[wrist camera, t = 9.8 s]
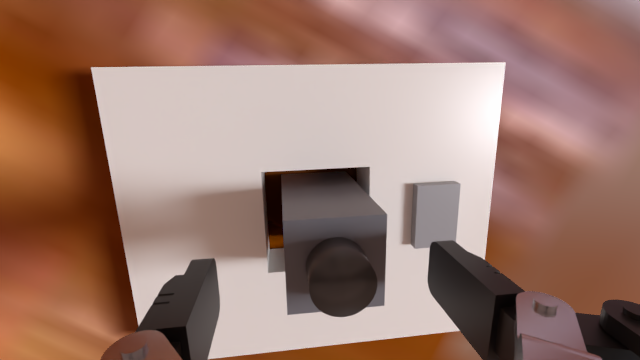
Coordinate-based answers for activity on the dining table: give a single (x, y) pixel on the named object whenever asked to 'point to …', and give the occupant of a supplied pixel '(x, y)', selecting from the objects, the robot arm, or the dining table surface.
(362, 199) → the gray knobbed square peg
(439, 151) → the socket plate
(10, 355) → the dining table surface
